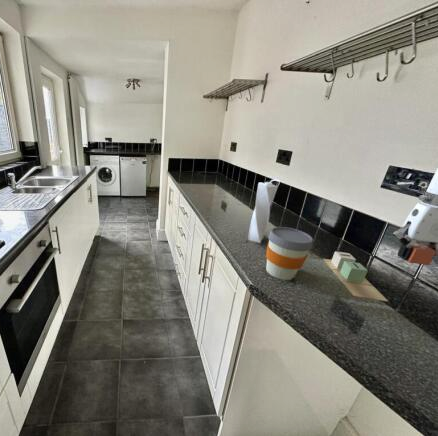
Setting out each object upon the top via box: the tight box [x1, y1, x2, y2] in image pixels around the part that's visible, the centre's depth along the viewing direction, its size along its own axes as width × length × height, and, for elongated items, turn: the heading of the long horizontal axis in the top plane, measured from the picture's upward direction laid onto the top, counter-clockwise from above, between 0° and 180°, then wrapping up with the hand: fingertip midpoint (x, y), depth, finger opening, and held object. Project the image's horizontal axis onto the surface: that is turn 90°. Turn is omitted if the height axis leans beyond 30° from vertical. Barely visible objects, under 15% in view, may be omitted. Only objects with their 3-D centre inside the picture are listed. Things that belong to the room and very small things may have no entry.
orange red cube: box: [405, 242, 437, 266], centre depth 68 cm, size 5×5×5 cm
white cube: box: [331, 251, 357, 269], centre depth 85 cm, size 5×5×5 cm
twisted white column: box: [247, 178, 281, 244], centre depth 100 cm, size 8×8×28 cm
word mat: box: [322, 258, 390, 303], centre depth 79 cm, size 9×22×1 cm, turn 166°
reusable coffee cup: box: [265, 226, 314, 281], centre depth 79 cm, size 13×13×15 cm
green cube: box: [340, 261, 369, 282], centre depth 78 cm, size 5×5×5 cm
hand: (413, 258), depth 69 cm, fingers closed on orange red cube, 4 cm apart
